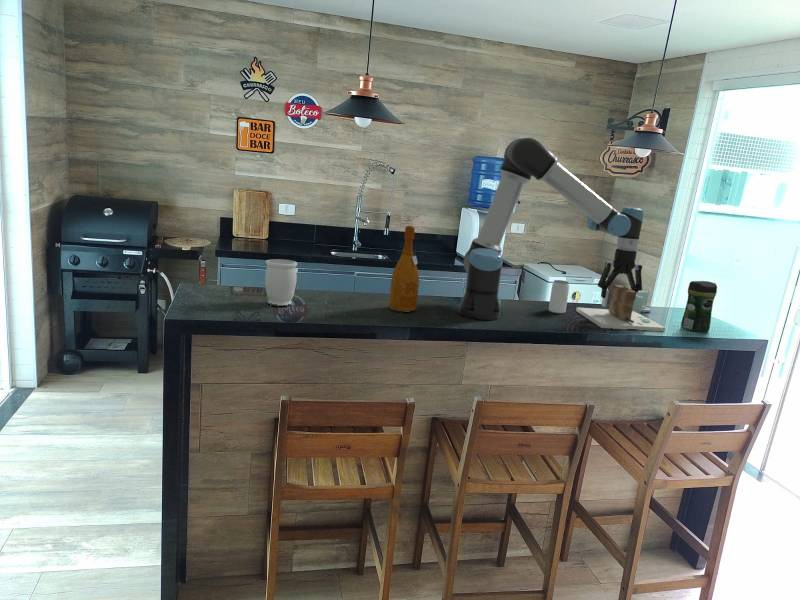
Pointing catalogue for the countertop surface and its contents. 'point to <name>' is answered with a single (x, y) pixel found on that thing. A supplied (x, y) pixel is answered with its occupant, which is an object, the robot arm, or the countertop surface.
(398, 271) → the wine bottle
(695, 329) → the coffee jar
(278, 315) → the countertop surface
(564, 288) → the can
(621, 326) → the dial plate
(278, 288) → the jar
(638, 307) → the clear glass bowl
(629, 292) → the brown wooden box
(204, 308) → the countertop surface
